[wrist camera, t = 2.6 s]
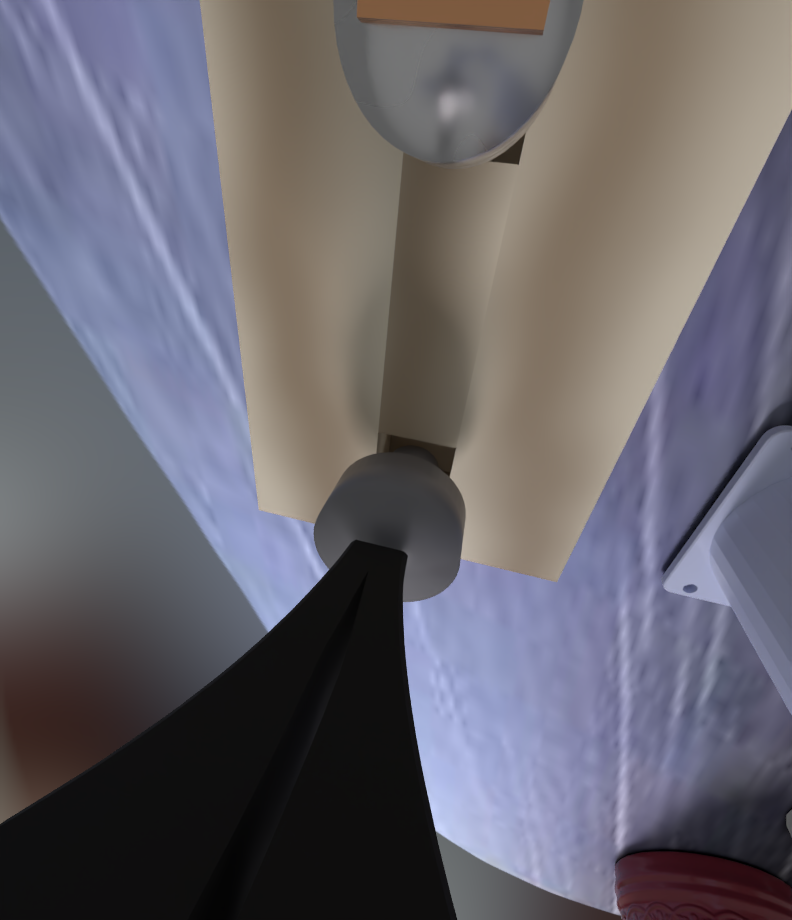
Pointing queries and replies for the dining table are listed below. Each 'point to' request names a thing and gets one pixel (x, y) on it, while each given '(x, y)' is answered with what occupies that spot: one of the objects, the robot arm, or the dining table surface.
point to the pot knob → (453, 70)
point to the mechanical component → (789, 822)
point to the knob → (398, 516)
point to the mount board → (482, 256)
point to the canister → (697, 889)
